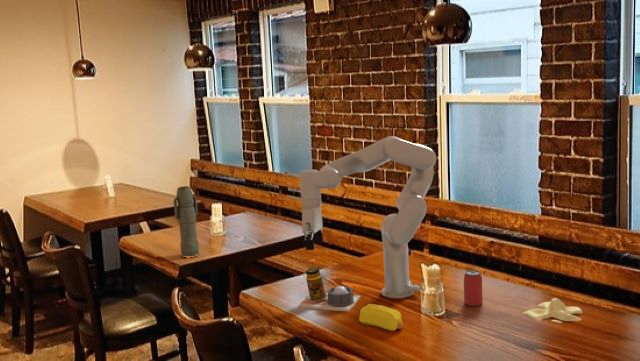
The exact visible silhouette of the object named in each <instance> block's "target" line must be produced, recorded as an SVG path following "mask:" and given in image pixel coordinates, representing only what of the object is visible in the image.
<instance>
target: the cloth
mask: <svg viewBox="0 0 640 361" xmlns="http://www.w3.org/2000/svg"><path fill="white" fill-rule="evenodd" d="M537 306H538V307H540V308H531V309H529V310H525V311H524V312H522V314H524V315H525V316H527V317H529V318H530V319H532V320H534V321H536V322H541V321H542V320H545V319H549V318H554V319H552V320H551V322H553V323H558V324H561V323H563V322H562V321H564V322H579V321H582V318H580V317H578V316H576V315H582V314H584V313H583V310H582V309H581V308H580V307H578V306H566V305H565V303H564V302H563V301H561V300H560V298H557V297H554V298H552V299H550V301H544V302H541V303H539V304H538V305H537Z"/></svg>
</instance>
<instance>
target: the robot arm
mask: <svg viewBox="0 0 640 361" xmlns="http://www.w3.org/2000/svg"><path fill="white" fill-rule="evenodd" d="M389 161H392V162H395V163H398V164H401V165H405V166H408V167H411V170H410V172H411V173H410V175H409V177H408V180H407V181H406V183H405V185H404V187H403V189H402V190H401V192H400V194H399V195H398V197H397V199H396V208H397V209H398V212H397V213H390V214H388V215H386V216H385V217H383V220H382V221H381V225H380V229H381V230H380V233H381V240H382V247H383V248H382V250H383V252H382V253H383V271H384V272H383V273H384V287H383V288H382V289H381V295H382V296H383V297H385V298H388V299H406V298H409V297H411V296H413V295H414V292H420V291H421V286H420V285H419V284H413V283H412V280H410V270H409V269H410V268H409V246H408V243H409V242H410V241H411V240H412V239H413V237H414V235H415V234H416V232H417V230H418V229H419V227H420V225H421V223H422V221H423V220H424V218H425V216H426V213H427V210H428V206H427V205H428V204H427V202H426V199H425V196H426V195H427V193H428V191H429V190H430V188H431V185H432V182H433V179H434V173H435V172H434V166H435V164H436V162H437V155H436V153H435V151H434V150H433V149H432V148H430V147H428V146H426V145H424V144H421V143H417V144H416V143H413V142H411V141H407V140H404V139H402V138H399V137H397V136H395V135H394V136H393V135H391V136H390V135H389V136H386V137H384V138H382V139H380V140H378V141H376V142H374V143H372V144H370V145H368V146H366V147H363V148H362V149H359V150H357V151H355V152H352V153H350V154H347V155H345V156H342V157H339V158H337V159H335V160H332V161H331V162H329V163H327V164H325V165H324V166H322V167H321V168H320V169H319V170H317V169H309V168H308V169H303V170H301V171H300V173H299V186H300V200H301V208H302V210H301V229H302V233H303V237H304V245H305V250H306V251H314V250H315V243H318V244H322V243H324V238H323V237H324V236H323V235H324V234H323V231H324V229H323V227H324V226H323V216H322V215H323V213H322V208H321V207H322V206H323V204H322V203H323V202H322V192H321V191H322V190H321V189H324V190H325V189H327V190H332V189H336V188H337V187H339V186H340V185H341V181H342V179H343V178H344V177H347V176H349V175H352V174H357V173H366V172H369V171H372V170H374V169H375V168H378V167H379V166H383V165H384V164H386V163H387V162H389ZM313 238H314V239H313Z"/></svg>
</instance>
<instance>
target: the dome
mask: <svg viewBox="0 0 640 361" xmlns="http://www.w3.org/2000/svg"><path fill="white" fill-rule="evenodd" d="M335 287H336V288H335V289H334V291H333V292H332V294H340V295H341V294H346V293H349V291H347V290H346V288H345V287H346V286H343V285H338V286H335Z"/></svg>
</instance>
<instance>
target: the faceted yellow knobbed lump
mask: <svg viewBox="0 0 640 361" xmlns="http://www.w3.org/2000/svg"><path fill="white" fill-rule="evenodd" d="M402 318H403V317H402V314H401V313H400V311H399V310H397V309H395V308H391V307H388V306H385V305H382V304H381V305H379V304H374V303H368V304H366V305H365V306H362V308H361V309H360V311H359V318H358V321H359V322H360V323H361V324H362V325H368V326H372V327H377V328H381V329H384V330H387V331H390V332H393V331H396V330H400V329H402V328H403V327H404V323H403V319H402Z"/></svg>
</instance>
